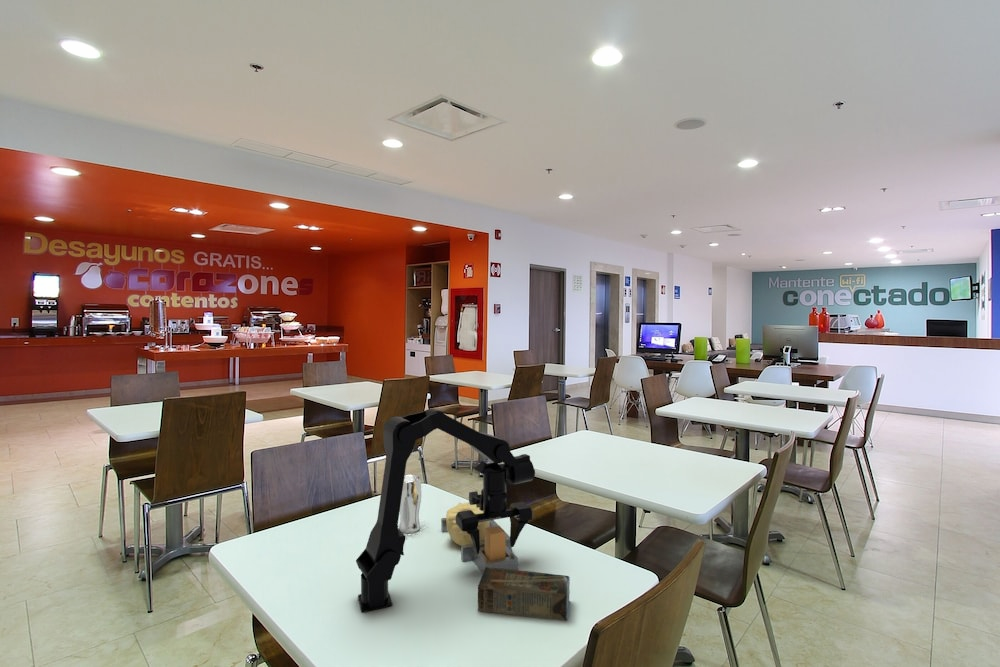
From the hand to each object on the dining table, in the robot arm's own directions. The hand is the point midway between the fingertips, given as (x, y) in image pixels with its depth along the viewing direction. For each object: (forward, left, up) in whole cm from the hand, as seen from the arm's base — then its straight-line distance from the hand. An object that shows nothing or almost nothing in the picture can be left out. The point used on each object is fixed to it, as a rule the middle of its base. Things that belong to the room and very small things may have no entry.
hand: (494, 549), depth 125 cm
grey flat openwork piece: (+10, 0, -4) cm, 11 cm away
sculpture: (+15, +2, -4) cm, 16 cm away
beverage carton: (-18, +1, -4) cm, 19 cm away
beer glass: (+30, +15, -4) cm, 33 cm away
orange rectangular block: (0, 0, -4) cm, 4 cm away
